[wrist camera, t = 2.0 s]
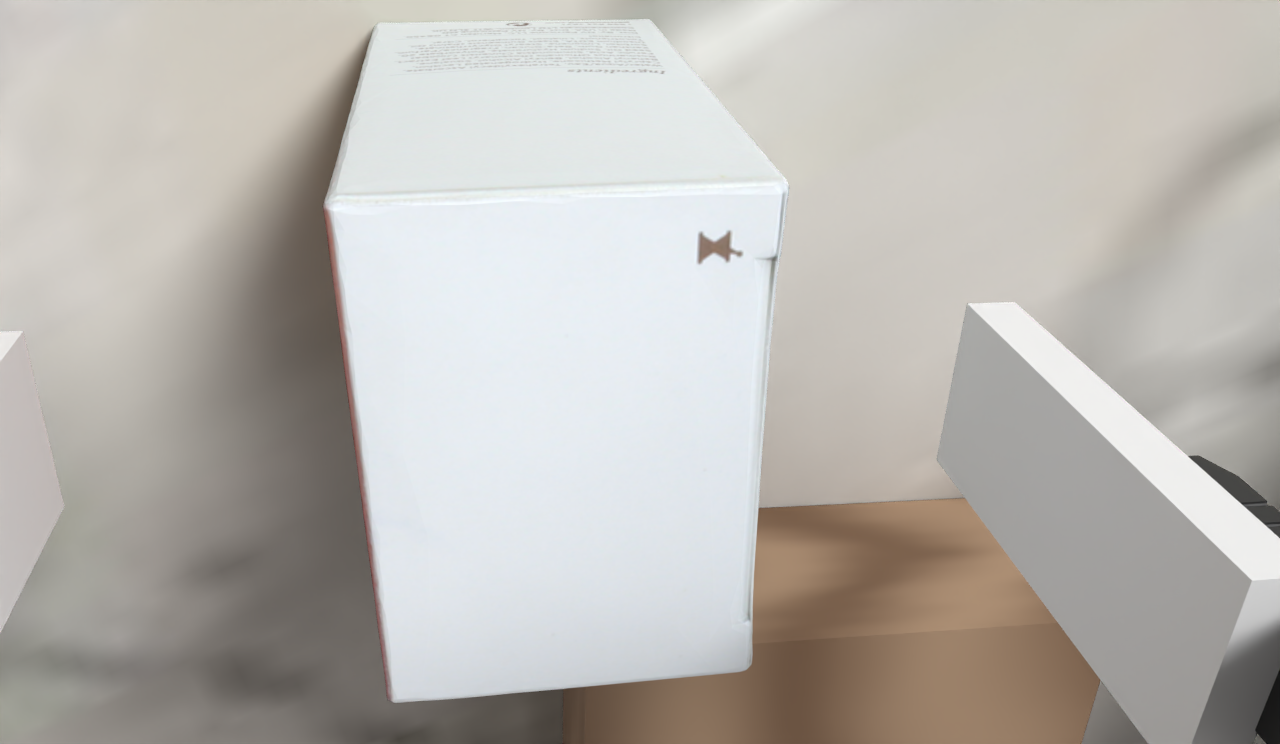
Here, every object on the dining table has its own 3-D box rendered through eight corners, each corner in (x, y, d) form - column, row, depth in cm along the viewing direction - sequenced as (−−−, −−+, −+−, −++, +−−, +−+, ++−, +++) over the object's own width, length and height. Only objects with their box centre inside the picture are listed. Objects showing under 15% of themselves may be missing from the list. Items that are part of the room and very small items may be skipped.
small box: (372, 16, 22) (311, 182, 12) (656, 13, 22) (799, 168, 13) (405, 381, 25) (378, 719, 16) (648, 368, 26) (756, 683, 17)
